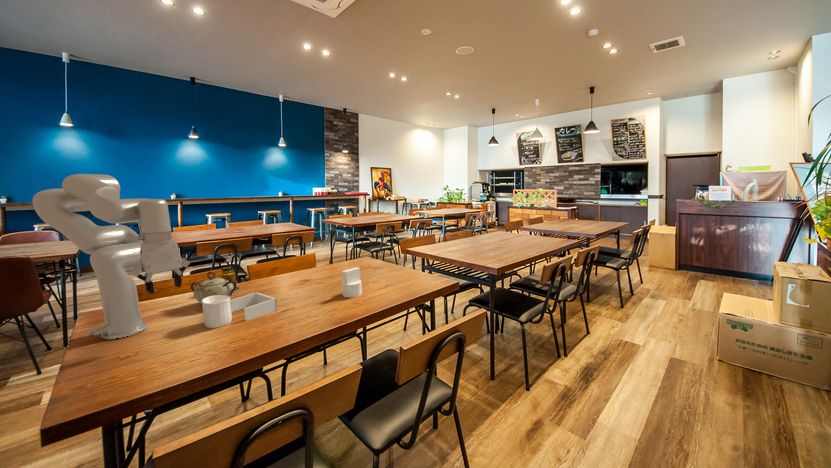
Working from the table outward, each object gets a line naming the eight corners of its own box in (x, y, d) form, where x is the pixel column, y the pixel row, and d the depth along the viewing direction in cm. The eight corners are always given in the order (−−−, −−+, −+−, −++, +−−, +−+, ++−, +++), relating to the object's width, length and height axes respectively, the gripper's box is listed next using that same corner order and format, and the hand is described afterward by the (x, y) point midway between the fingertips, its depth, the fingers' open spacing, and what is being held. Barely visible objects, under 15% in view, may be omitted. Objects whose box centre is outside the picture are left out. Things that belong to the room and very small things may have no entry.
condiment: (221, 294, 156) (218, 270, 155) (222, 289, 164) (219, 266, 162) (238, 291, 160) (236, 268, 158) (238, 286, 167) (236, 264, 165)
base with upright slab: (351, 298, 147) (350, 273, 145) (338, 294, 153) (337, 270, 151) (365, 293, 154) (364, 268, 153) (352, 289, 160) (351, 266, 158)
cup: (219, 329, 118) (216, 304, 116) (196, 327, 120) (193, 302, 118) (238, 319, 127) (236, 295, 125) (216, 317, 129) (214, 293, 127)
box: (246, 321, 125) (245, 308, 124) (227, 312, 133) (226, 301, 132) (277, 309, 135) (276, 298, 134) (257, 303, 144) (256, 292, 143)
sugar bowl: (181, 311, 135) (176, 276, 133) (203, 298, 150) (200, 267, 148) (228, 310, 135) (224, 276, 133) (246, 298, 150) (243, 266, 148)
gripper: (127, 242, 96) (136, 299, 99) (192, 234, 110) (198, 284, 113) (119, 240, 100) (127, 295, 103) (183, 232, 115) (189, 281, 117)
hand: (164, 289), depth 108 cm, fingers open, 6 cm apart
